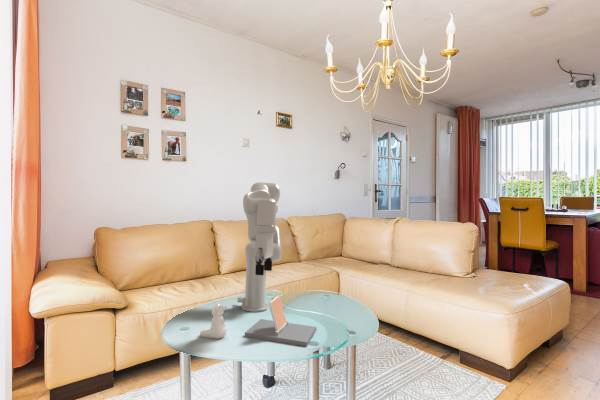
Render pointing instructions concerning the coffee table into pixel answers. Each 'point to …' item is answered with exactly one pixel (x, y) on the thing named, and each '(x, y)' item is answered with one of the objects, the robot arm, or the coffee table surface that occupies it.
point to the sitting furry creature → (216, 324)
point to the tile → (277, 313)
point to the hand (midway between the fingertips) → (263, 272)
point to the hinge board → (282, 332)
